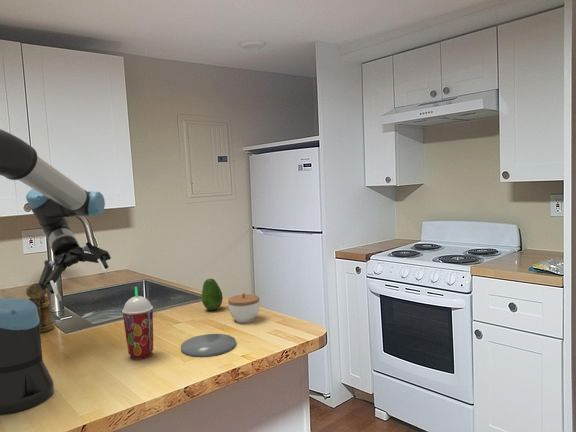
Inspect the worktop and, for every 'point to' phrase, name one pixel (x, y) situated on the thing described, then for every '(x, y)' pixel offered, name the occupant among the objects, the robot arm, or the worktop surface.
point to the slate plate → (208, 345)
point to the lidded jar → (244, 307)
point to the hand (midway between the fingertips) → (83, 286)
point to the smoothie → (138, 326)
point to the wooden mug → (41, 307)
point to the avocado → (211, 295)
